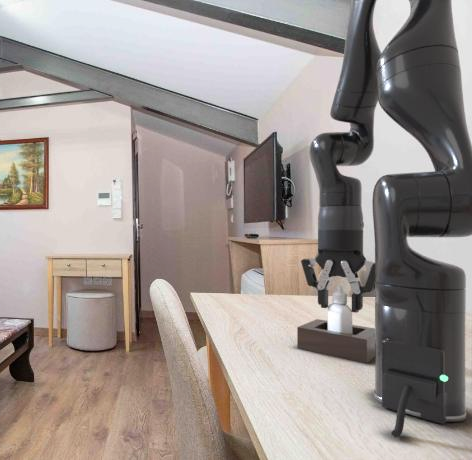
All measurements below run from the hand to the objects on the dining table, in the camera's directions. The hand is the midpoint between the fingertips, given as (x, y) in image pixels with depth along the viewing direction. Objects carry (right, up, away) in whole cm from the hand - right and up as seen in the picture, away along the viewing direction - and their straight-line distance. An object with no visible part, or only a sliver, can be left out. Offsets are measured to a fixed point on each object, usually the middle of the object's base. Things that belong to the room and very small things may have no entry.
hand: (339, 309), depth 79 cm
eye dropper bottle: (0, -8, 0) cm, 8 cm away
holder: (0, -8, 0) cm, 8 cm away
